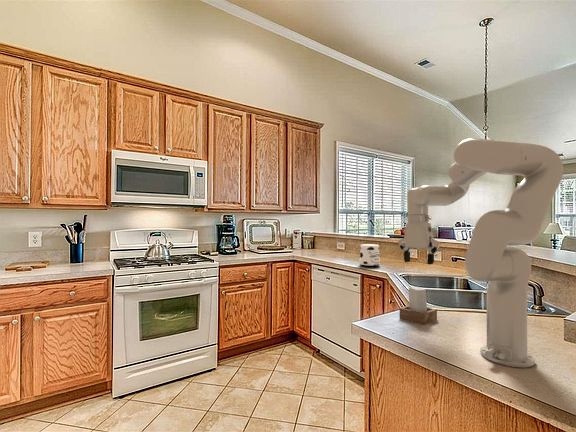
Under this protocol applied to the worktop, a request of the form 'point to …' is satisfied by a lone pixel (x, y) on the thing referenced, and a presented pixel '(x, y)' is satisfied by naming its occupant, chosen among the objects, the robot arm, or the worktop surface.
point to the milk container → (369, 255)
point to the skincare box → (417, 299)
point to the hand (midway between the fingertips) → (418, 263)
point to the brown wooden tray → (418, 315)
